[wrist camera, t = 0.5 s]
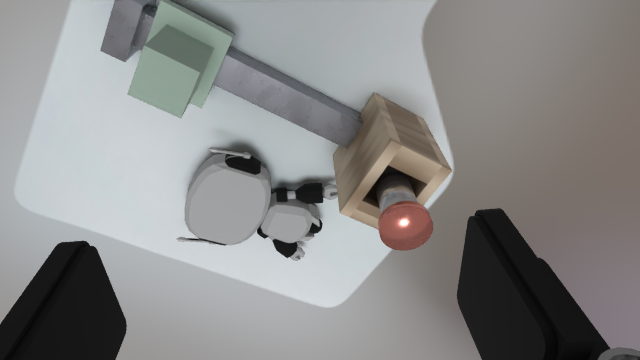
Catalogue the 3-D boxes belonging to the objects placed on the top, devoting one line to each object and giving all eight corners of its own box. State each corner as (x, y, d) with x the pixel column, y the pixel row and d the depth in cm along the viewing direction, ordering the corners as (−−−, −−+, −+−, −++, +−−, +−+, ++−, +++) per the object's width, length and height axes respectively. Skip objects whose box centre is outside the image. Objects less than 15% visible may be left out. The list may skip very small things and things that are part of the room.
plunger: (386, 158, 36) (399, 200, 31) (424, 177, 37) (444, 221, 32) (360, 194, 38) (369, 239, 33) (398, 211, 39) (412, 257, 34)
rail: (134, -17, 37) (117, -8, 33) (374, 109, 44) (380, 127, 40) (117, 37, 39) (100, 50, 36) (348, 148, 46) (352, 168, 43)
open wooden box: (373, 92, 43) (391, 140, 34) (423, 119, 44) (452, 170, 36) (332, 155, 46) (339, 212, 38) (380, 178, 48) (396, 237, 40)
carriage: (171, -9, 37) (135, 18, 29) (237, 27, 39) (221, 60, 31) (146, 64, 40) (107, 105, 32) (208, 93, 42) (186, 139, 34)
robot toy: (341, 170, 49) (207, 126, 44) (347, 194, 45) (202, 149, 40) (299, 247, 54) (177, 216, 50) (301, 274, 51) (170, 244, 46)
